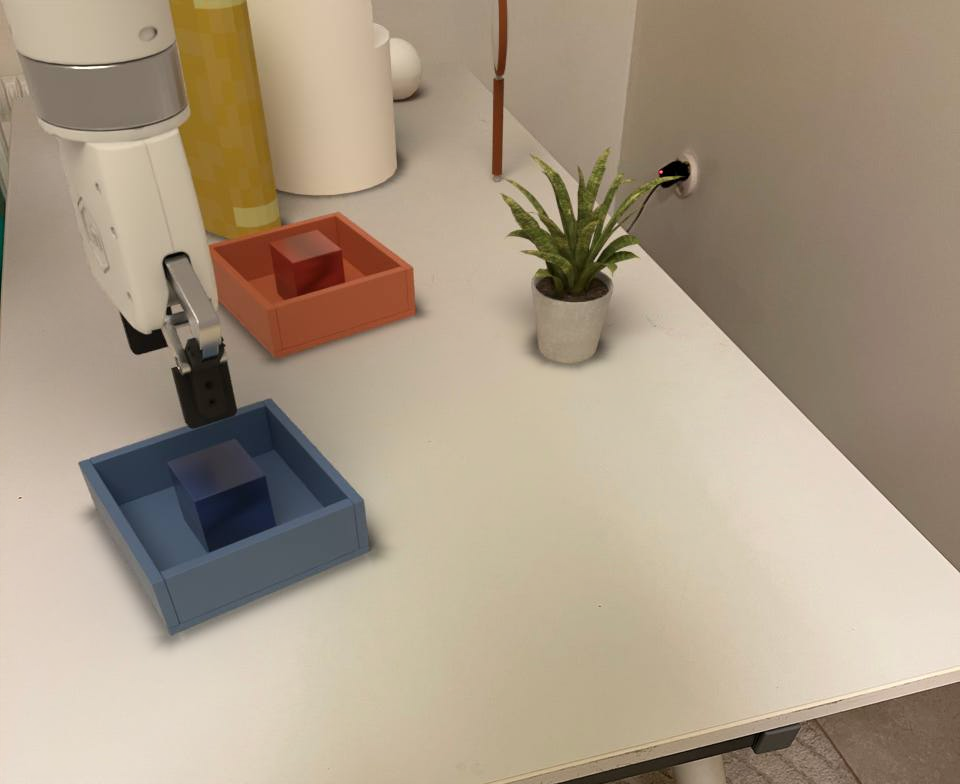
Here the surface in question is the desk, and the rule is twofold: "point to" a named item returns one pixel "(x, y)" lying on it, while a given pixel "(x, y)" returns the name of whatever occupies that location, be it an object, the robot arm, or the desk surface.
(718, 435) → the desk surface
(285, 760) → the desk surface
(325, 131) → the cylinder
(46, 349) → the desk surface
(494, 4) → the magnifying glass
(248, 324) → the red bin
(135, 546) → the blue bin
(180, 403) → the robot arm
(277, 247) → the red block
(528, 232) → the house plant
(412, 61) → the white egg
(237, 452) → the blue block
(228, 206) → the book
